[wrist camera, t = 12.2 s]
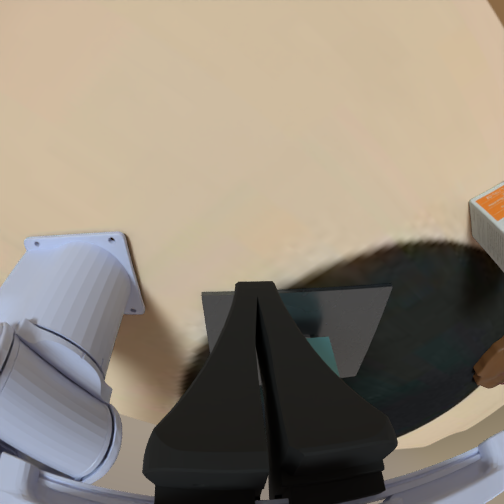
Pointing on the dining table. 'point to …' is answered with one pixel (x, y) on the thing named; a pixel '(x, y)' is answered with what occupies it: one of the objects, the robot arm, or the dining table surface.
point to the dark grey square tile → (319, 318)
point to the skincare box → (489, 222)
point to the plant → (491, 366)
